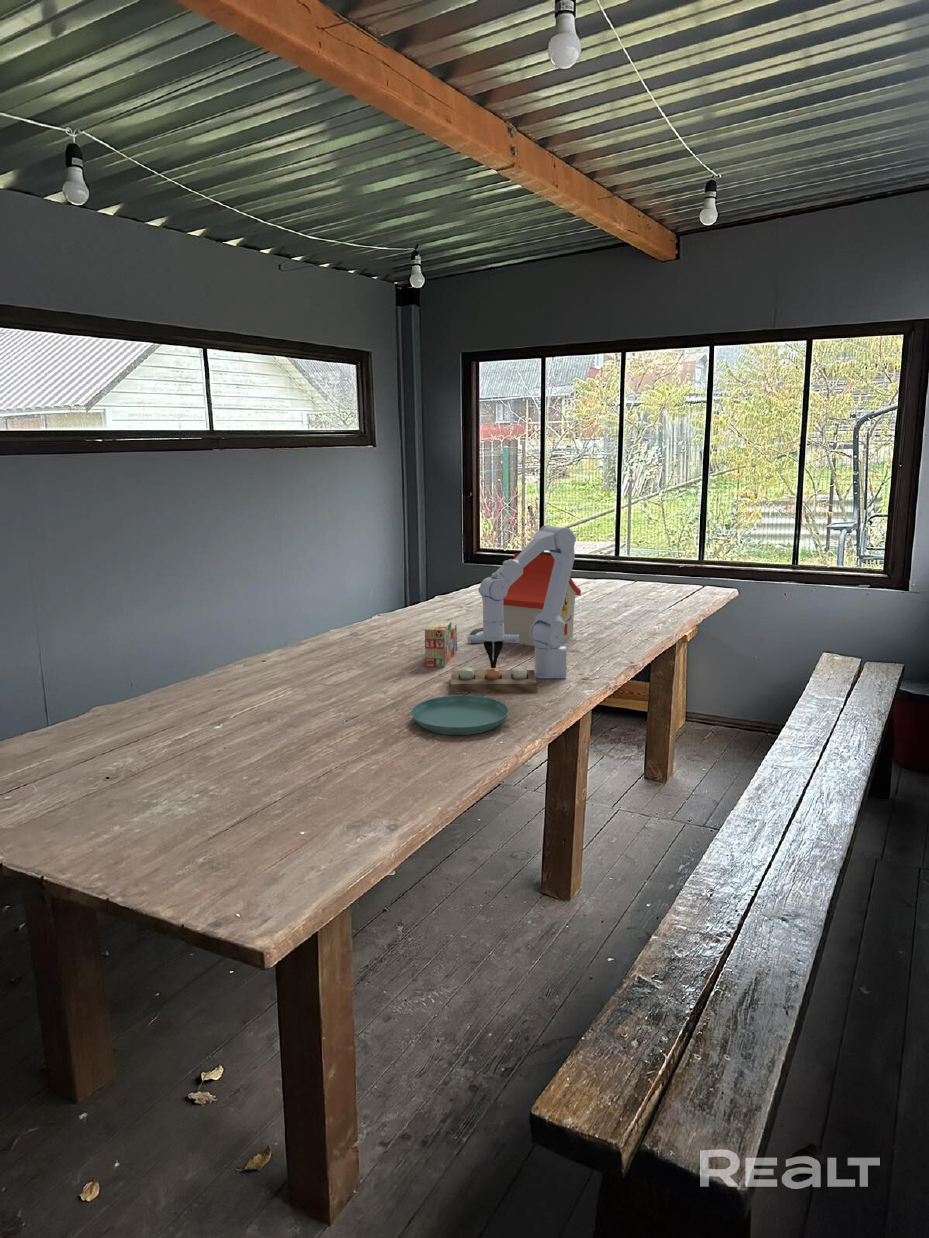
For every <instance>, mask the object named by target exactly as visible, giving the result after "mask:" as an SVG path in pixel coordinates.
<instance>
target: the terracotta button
mask: <svg viewBox="0 0 929 1238" xmlns="http://www.w3.org/2000/svg"><path fill="white" fill-rule="evenodd" d="M485 670H486V679H500V670H501V668H500V667H496V668H491V667H488V668H486V669H485Z"/></svg>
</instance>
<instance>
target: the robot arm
mask: <svg viewBox="0 0 929 1238" xmlns="http://www.w3.org/2000/svg"><path fill="white" fill-rule="evenodd" d="M576 540H577V537H576V536H575V534H574V532H573V530H572V529H571V528H569V527H565V526H564V527H562V526H561V527H560V526H555V525H554V526H553V525H550V524H545V525H543V526H541V527H540V529H539V530H537V531H536V532H535V534H534V537H533V539H531V540H530V542H528V543H527V545H526V546H525V547H524V548H523V550H521V552H519V553H520V554H519V555H518V556H517V557H516V558H515V559H514V558H513V559H512V558H510V559H508V560H506V559H505V560H504V561H503V562H502V565H501V566H499V568H498V569H497V570H496V571H495V572H493V573H491V576H489V577H486V578H484V579H483V580H482V581H481V583H480V585H479V587H478V593H479V595H480V597H481V602H482V628H483V631H482V633H481V634H476V635H469V634H468V635H467V640H466V641H467V644H476V643H478V644H483V647H484V649H485V651H486V654H487V656H488V660H489V663H490V668H497V663H498V658H499V656H500V653H501V650H502V649H503V647H504V644H503V643H508V642H515V643H514V644H516V643H519V635H510V634H504V624H503V598H504V597H506V595H507V593H508V589H509V588H510V586H511V585H512V584H513V583H514V582H515V581H516V580H517V579H518V578H519V577H520V576H521V575H522V574H523V568H524V567H525V566H526V565H527V564H528V563H529V562H531V561H532V560H533V559H534V558H535V557H536V556H538V555H541V554H542V553H543V552H544V551H546V552H547V551H548V552H549V553H550V555H552V556H553V558H554V559H555V561H554V565H553V570H552V574H551V578H550V582H549V586H548V590H547V594H546V598H545V602H544V607H543V611H542V612H541V613H540V614H539V615H537V616H536V618H535V622H534V623H533V625H532V626H531V628H530V637H531V639H532V640H533V641H534V645H535V646H534V669H533V670H534V672H535V676H536V679H567V669H568V665H567V647H566V646H565V645H562V644H563V643H564V642H565V641H564V637H565V634H564V627H565V623H564V621H563V620H562V618H561V612H562V608H563V604H564V600H565V596H566V592H567V588H568V583H569V579H570V577H571V575H572V572H573V571H572V570H573V566H574V563H575V557H576V554H575V544H576ZM548 623H550V624H548Z"/></svg>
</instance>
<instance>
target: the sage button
mask: <svg viewBox="0 0 929 1238" xmlns="http://www.w3.org/2000/svg"><path fill="white" fill-rule="evenodd" d="M459 670H460V679H474V670H475V669H474V668H473V667H463V668H460V669H459Z"/></svg>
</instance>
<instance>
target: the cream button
mask: <svg viewBox="0 0 929 1238" xmlns="http://www.w3.org/2000/svg"><path fill="white" fill-rule="evenodd" d="M512 670H513V679H527V670H528V668H527V667H521V666H517V667H513V668H512Z"/></svg>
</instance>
